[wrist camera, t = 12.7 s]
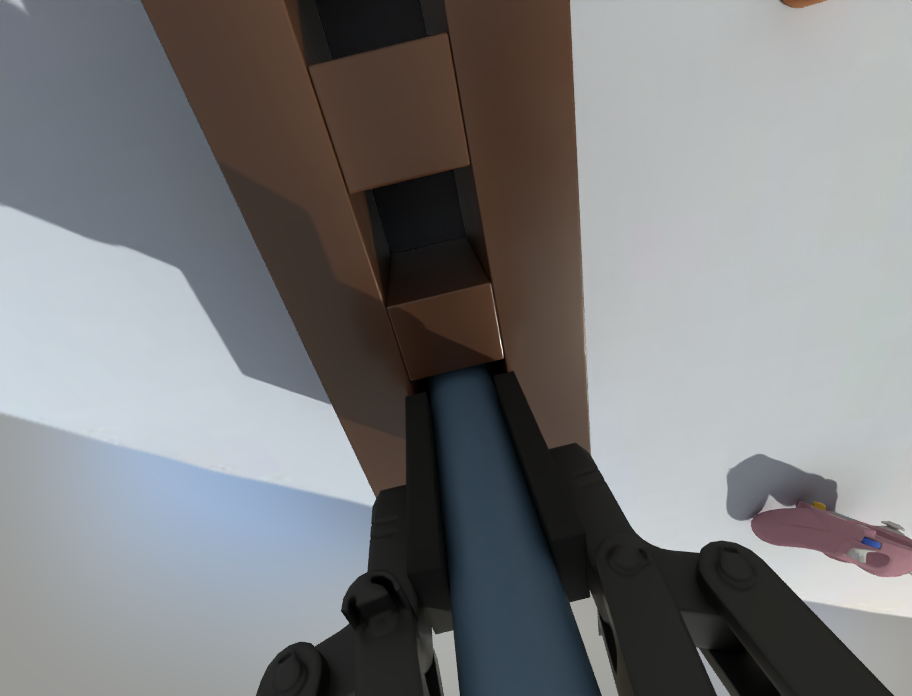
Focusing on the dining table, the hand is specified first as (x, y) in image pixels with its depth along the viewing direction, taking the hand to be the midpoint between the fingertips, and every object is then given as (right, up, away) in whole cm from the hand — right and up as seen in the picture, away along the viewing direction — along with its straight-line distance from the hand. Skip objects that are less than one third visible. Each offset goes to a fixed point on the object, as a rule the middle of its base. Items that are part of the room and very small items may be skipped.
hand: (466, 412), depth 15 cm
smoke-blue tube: (0, +1, +2) cm, 3 cm away
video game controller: (+28, -11, +17) cm, 35 cm away
